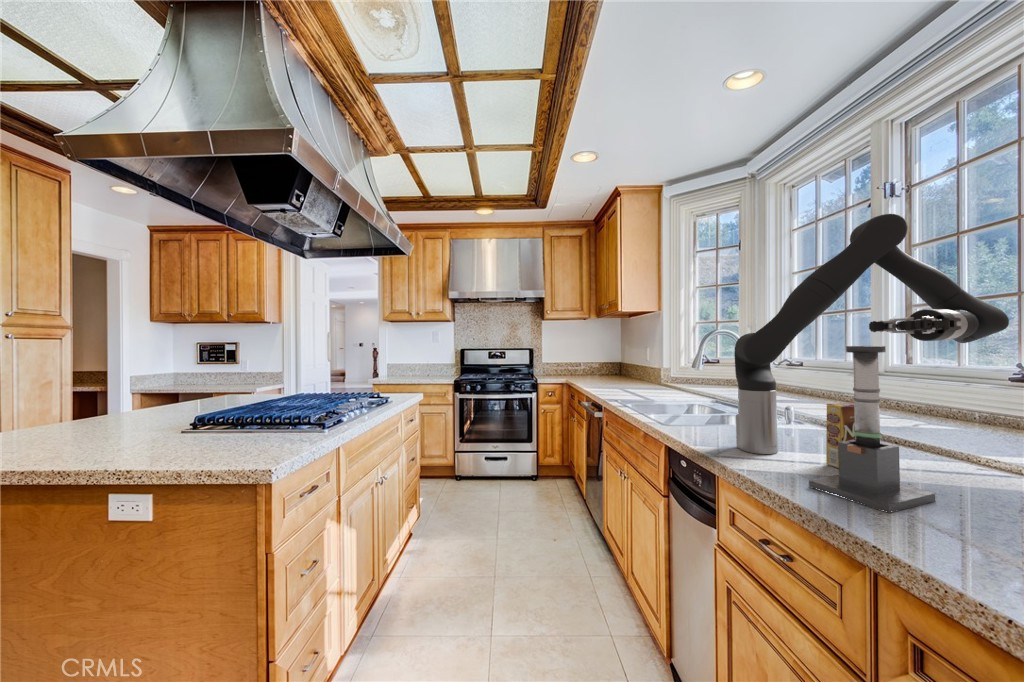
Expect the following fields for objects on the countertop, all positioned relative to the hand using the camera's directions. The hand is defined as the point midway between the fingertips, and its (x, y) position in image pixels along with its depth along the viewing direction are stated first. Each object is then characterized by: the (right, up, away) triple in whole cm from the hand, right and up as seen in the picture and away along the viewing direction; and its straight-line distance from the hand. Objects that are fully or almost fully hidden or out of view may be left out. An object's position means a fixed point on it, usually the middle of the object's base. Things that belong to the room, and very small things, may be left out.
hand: (893, 325), depth 91 cm
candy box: (-3, -34, +8) cm, 35 cm away
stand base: (-14, -34, -10) cm, 38 cm away
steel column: (-14, -26, -10) cm, 31 cm away
